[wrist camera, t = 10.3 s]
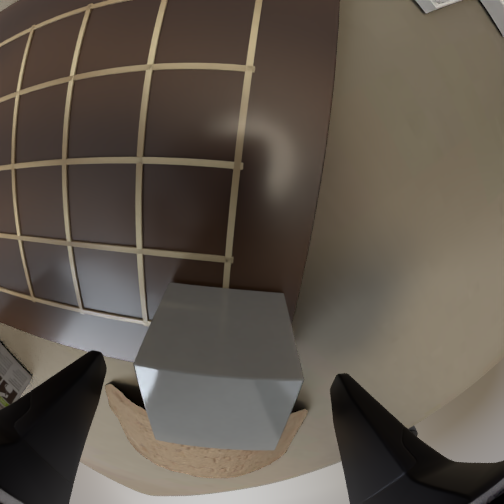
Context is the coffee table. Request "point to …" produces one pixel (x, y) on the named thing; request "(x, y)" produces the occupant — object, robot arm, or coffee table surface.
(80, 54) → the grid board
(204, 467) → the clay tablet
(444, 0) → the floor plan model
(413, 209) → the coffee table surface
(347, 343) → the coffee table surface
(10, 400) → the coffee box
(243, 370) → the gray cube
